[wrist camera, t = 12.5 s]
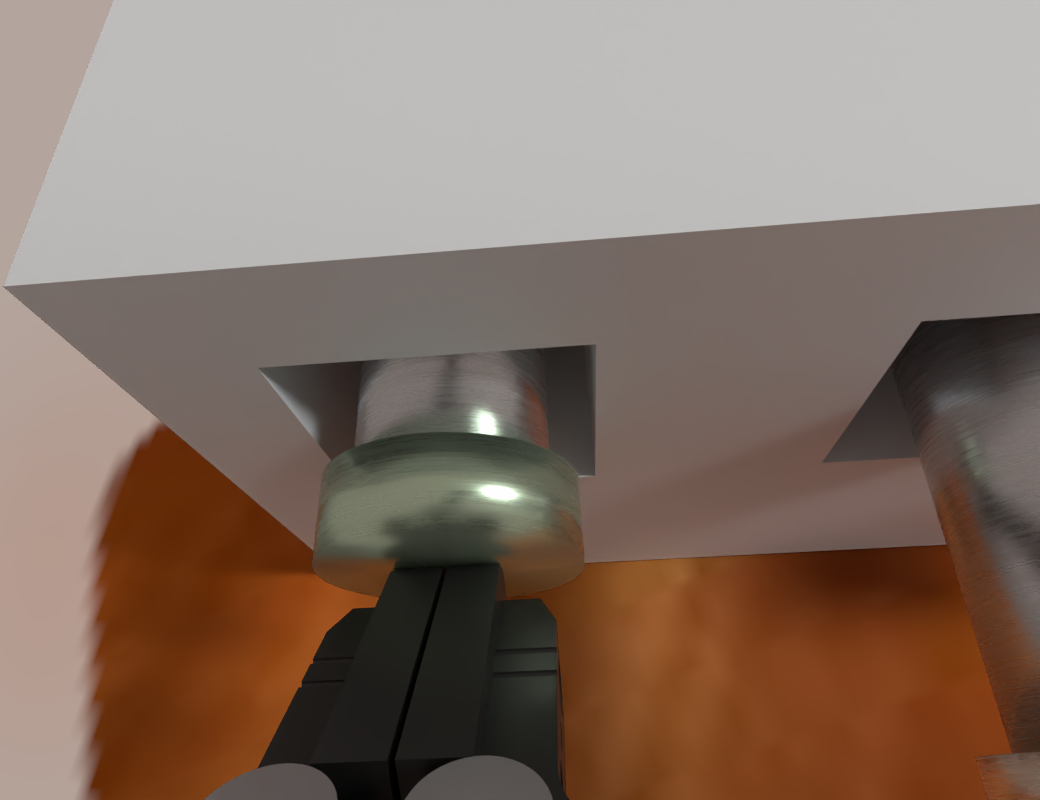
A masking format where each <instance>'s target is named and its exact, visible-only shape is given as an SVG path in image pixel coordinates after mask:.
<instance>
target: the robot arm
mask: <svg viewBox="0 0 1040 800" xmlns="http://www.w3.org/2000/svg"><path fill="white" fill-rule="evenodd" d="M204 800H569V799H568V797H567V795H566V781H565V739H564V712H563V699H562V687H561V675H560V662H559V650H558V637H557V625H556V619H555V618H554V617H553V615H552V614H551V613H550V611H549V610H548V609H547V607H546V606H545V604H544V603H543V602H542V600H541V599H524V600H506V590H505V581H504V573H503V569H502V567H501V564H492V565H473V566H455V567H448V569H447V571H446V569H445V568H444V567H439V568H421V569H403V570H392V571H391V572H390V574H389V576H388V578H387V581H386V583H385V585H384V588H383V590H382V593H381V595H380V597H379V600H378V602H377V604H376V607H375V608H357V609H352V610H351V611H350V612H349V613H348V614H347V615H346V616H344V617H343V618H342V619H341V620H340V621H339V622H338V623H336V624H335V625H334V626H333V627H332V628H331V629H330V630H329V631H327V633H326V635H325V637H324V639H323V641H322V642H321V644H320V646H319V648H318V650H317V652H316V654H315V656H314V658H313V664H310V666H309V668H308V670H307V672H306V674H305V676H304V678H303V680H302V687H301V688H298V690H297V692H296V694H295V696H294V698H293V700H292V702H291V704H290V706H289V708H288V710H287V712H286V713H285V715H284V717H283V719H282V721H281V723H280V725H279V727H278V729H277V731H276V733H275V735H274V737H273V739H272V741H271V743H270V745H269V747H268V749H267V751H266V753H265V755H264V757H263V759H262V761H261V763H260V765H259V767H258V769H254V770H251V771H249V772H247V773H244V774H242V775H239V776H238V777H236V778H234V779H232V780H230V781H228V782H227V783H225V784H224V785H222V786H221V787H219V788H218V789H216V790H215V791H213V792H212V793H211V794H210V795H209V796H207V797H206V798H205V799H204Z"/></svg>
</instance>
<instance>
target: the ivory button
mask: <svg viewBox="0 0 1040 800" xmlns="http://www.w3.org/2000/svg"><path fill="white" fill-rule="evenodd" d="M890 366H891V370H892V373H893V376H894V379H895V382H896V385H897V389H898V392H899V395H900V398H901V401H902V404H903V408H904V411H905V414H906V417H907V420H908V424H909V427H910V430H911V433H912V436H913V439H914V443H915V446H916V449H917V452H918V455H919V458H920V462H921V465H922V468H923V471H924V474H925V478H926V481H927V484H928V487H929V490H930V493H931V497H932V500H933V503H934V506H935V509H936V512H937V516H938V519H939V522H940V525H941V528H942V531H943V535H944V538H945V541H946V544H947V547H948V551H949V554H950V557H951V560H952V563H953V566H954V570H955V573H956V576H957V579H958V582H959V585H960V589H961V592H962V595H963V598H964V601H965V605H966V608H967V611H968V614H969V617H970V620H971V624H972V627H973V630H974V633H975V636H976V639H977V643H978V646H979V649H980V652H981V655H982V658H983V662H984V665H985V668H986V671H987V674H988V678H989V681H990V684H991V687H992V690H993V693H994V697H995V700H996V703H997V706H998V709H999V712H1000V716H1001V719H1002V722H1003V725H1004V728H1005V732H1006V735H1007V738H1008V741H1009V744H1010V747H1011V751H1012V754H1000V755H988V756H978V757H975V759H976V762H977V766H978V769H979V773H980V776H981V780H982V783H983V786H984V790H985V793H986V797H987V800H1040V313H1034V314H1019V315H1005V316H991V317H977V318H962V319H948V320H934V321H921V323H920V324H919V326H918V327H917V328H916V330H915V331H914V333H913V334H912V335H911V337H910V338H909V340H908V341H907V343H906V344H905V345H904V347H903V348H902V350H901V351H900V353H899V354H898V355H897V357H896V358H895V360H894V361H893V362H892V364H891V365H890Z"/></svg>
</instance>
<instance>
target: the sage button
mask: <svg viewBox="0 0 1040 800" xmlns="http://www.w3.org/2000/svg"><path fill="white" fill-rule="evenodd" d="M492 564H501V567H502V569H503V573H504V581H505V590H506V598H512V597H518V596H524V595H529V594H534V593H538V592H542V591H546V590H549V589H552V588H555V587H558V586H561V585H563V584H565V583H568V582H570V581H571V580H573V579H575V578H576V577H577V576H578V575H580V574H581V572H582V571H583V570H584V566H585V558H584V544H583V530H582V516H581V502H580V487H579V478H578V473H577V472H576V470H575V468H574V467H573V466H572V465H571V464H570V463H569V462H568V461H567V460H566V459H564V458H563V457H562V456H560V455H558V454H557V453H555V452H553V451H551V450H549V441H548V421H547V402H546V382H545V362H544V348H535V349H521V350H507V351H492V352H478V353H464V354H450V355H435V356H421V357H407V358H393V359H378V360H364V361H362V369H361V380H360V391H359V403H358V414H357V425H356V436H355V447H354V448H352V449H349V450H347V451H345V452H343V453H342V454H340V455H338V456H337V457H335V458H334V459H333V460H332V461H331V462H329V463H328V465H327V466H326V467H325V469H324V471H323V473H322V477H321V486H320V495H319V504H318V513H317V522H316V531H315V540H314V549H313V558H312V569H313V571H314V573H315V574H316V575H317V576H318V577H319V578H321V579H322V580H324V581H325V582H327V583H330V584H332V585H334V586H336V587H339V588H342V589H345V590H349V591H352V592H356V593H360V594H365V595H370V596H376V597H380V595H381V593H382V590H383V588H384V585H385V583H386V581H387V578H388V576H389V574H390V572H391V571H392V570H403V569H421V568H439V567H444V568H445V569H446V571H447V569H448V567H455V566H473V565H492Z"/></svg>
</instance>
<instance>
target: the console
mask: <svg viewBox="0 0 1040 800" xmlns="http://www.w3.org/2000/svg"><path fill="white" fill-rule="evenodd" d="M3 287H4V288H5V289H7V290H8V291H9V292H10V293H11V294H13V295H14V296H15V297H16V298H17V299H18V300H20V301H21V302H22V303H23V304H24V305H25V306H27V307H28V308H29V309H30V310H31V311H32V312H34V313H35V314H36V315H37V316H38V317H40V318H41V319H42V320H43V321H44V322H45V323H47V324H48V325H49V326H50V327H51V328H52V329H54V330H55V331H56V332H57V333H58V334H60V335H61V336H62V337H63V338H64V339H65V340H66V341H68V342H69V343H70V344H71V345H72V346H74V347H75V348H76V349H77V350H78V351H80V352H81V353H82V354H83V355H84V356H85V357H86V358H88V359H89V360H90V361H91V362H92V363H93V364H95V365H96V366H97V367H98V368H99V369H101V370H102V371H103V372H104V373H105V374H106V375H108V376H109V377H110V378H111V379H113V380H114V381H115V382H116V383H117V384H118V385H119V386H120V387H122V388H123V389H124V390H125V391H126V392H128V393H129V394H130V395H131V396H132V397H134V398H135V399H136V400H137V401H138V402H139V403H140V404H142V405H143V406H144V407H145V408H146V409H148V410H149V411H150V412H151V413H152V414H153V415H155V416H156V417H157V418H158V419H159V420H160V421H162V422H163V423H164V424H165V425H166V426H167V427H169V428H170V429H171V430H172V431H173V432H174V433H176V434H177V435H178V436H179V437H180V438H182V439H183V440H184V441H185V442H186V443H187V444H189V445H190V446H191V447H192V448H193V449H194V450H196V451H197V452H198V453H199V454H200V455H201V456H203V457H204V458H205V459H206V460H207V461H209V462H210V463H211V464H212V465H213V466H214V467H216V468H217V469H218V470H219V471H220V472H221V473H223V474H224V475H225V476H226V477H227V478H228V479H230V480H231V481H232V482H233V483H234V484H236V485H237V486H238V487H239V488H240V489H241V490H243V491H244V492H245V493H246V494H247V495H248V496H250V497H251V498H252V499H253V500H254V501H255V502H257V503H258V504H259V505H260V506H261V507H263V508H264V509H265V510H266V511H267V512H268V513H270V514H271V515H272V516H273V517H274V518H275V519H277V520H278V521H279V522H280V523H281V524H282V525H284V526H285V527H286V528H287V529H288V530H290V531H291V532H292V533H293V534H294V535H295V536H297V537H298V538H299V539H300V540H301V541H302V542H304V543H305V544H306V545H307V546H308V547H309V548H311V549H312V550H313V549H314V540H315V531H316V522H317V513H318V504H319V495H320V486H321V477H322V473H323V471H324V469H325V467H326V466H327V465H328V463H329V462H331V461H332V460H333V459H334V458H335V457H337V456H338V455H340V454H342V453H343V452H345V451H347V450H349V449H352V448H354V447H355V436H356V425H357V414H358V403H359V391H360V380H361V369H362V361H364V360H378V359H393V358H407V357H421V356H435V355H450V354H464V353H478V352H492V351H507V350H521V349H535V348H544V362H545V382H546V402H547V421H548V441H549V450H551V451H553V452H555V453H557V454H558V455H560V456H562V457H563V458H564V459H566V460H567V461H568V462H569V463H570V464H571V465H572V466H573V467H574V468H575V470H576V472H577V473H578V478H579V487H580V502H581V516H582V530H583V544H584V558H585V563H594V562H614V561H634V560H653V559H673V558H693V557H712V556H732V555H752V554H771V553H791V552H811V551H831V550H850V549H870V548H890V547H909V546H929V545H947V544H946V541H945V538H944V535H943V531H942V528H941V525H940V522H939V519H938V516H937V512H936V509H935V506H934V503H933V500H932V497H931V493H930V490H929V487H928V484H927V481H926V478H925V474H924V471H923V468H922V465H921V462H920V458H919V455H918V452H917V449H916V446H915V443H914V439H913V436H912V433H911V430H910V427H909V424H908V420H907V417H906V414H905V411H904V408H903V404H902V401H901V398H900V395H899V392H898V389H897V385H896V382H895V379H894V376H893V373H892V370H891V366H890V365H891V364H892V362H893V361H894V360H895V358H896V357H897V355H898V354H899V353H900V351H901V350H902V348H903V347H904V345H905V344H906V343H907V341H908V340H909V338H910V337H911V335H912V334H913V333H914V331H915V330H916V328H917V327H918V326H919V324H920V323H921V321H934V320H948V319H962V318H977V317H991V316H1005V315H1019V314H1034V313H1040V0H114V2H113V4H112V7H111V9H110V12H109V14H108V17H107V20H106V22H105V25H104V27H103V30H102V33H101V35H100V38H99V40H98V43H97V45H96V48H95V51H94V53H93V56H92V58H91V61H90V63H89V66H88V69H87V71H86V74H85V76H84V79H83V82H82V84H81V87H80V89H79V92H78V95H77V97H76V100H75V102H74V105H73V108H72V110H71V112H70V115H69V118H68V120H67V123H66V125H65V128H64V131H63V133H62V136H61V138H60V141H59V143H58V146H57V149H56V151H55V154H54V156H53V159H52V161H51V164H50V167H49V169H48V172H47V174H46V177H45V180H44V182H43V185H42V187H41V190H40V193H39V195H38V198H37V201H36V203H35V205H34V208H33V210H32V213H31V216H30V218H29V221H28V223H27V226H26V229H25V231H24V234H23V236H22V239H21V241H20V244H19V247H18V250H17V252H16V254H15V257H14V260H13V262H12V265H11V267H10V270H9V273H8V275H7V278H6V280H5V283H4V285H3Z"/></svg>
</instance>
